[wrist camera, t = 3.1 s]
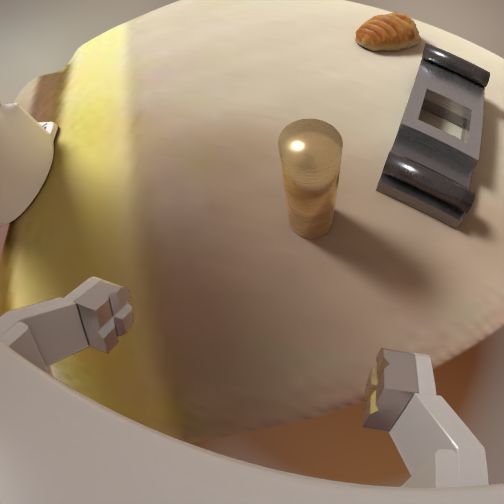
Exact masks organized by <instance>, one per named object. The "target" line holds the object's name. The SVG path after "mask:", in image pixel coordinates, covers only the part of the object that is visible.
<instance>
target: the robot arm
mask: <svg viewBox="0 0 504 504" xmlns="http://www.w3.org/2000/svg"><path fill="white" fill-rule="evenodd" d="M57 129H58V126H57V125H56V124H55V123H54V122H37V121H36V120H35V119H34V118H33V117H32V116H31V115H30V114H28V113H27V112H26V111H25V110H24V109H23V108H22V107H21V106H20V105H19V104H17V103H14V104H7V105H1V104H0V226H3V225H6V224H8V223H10V222H12V221H13V220H15V219H16V218H17V217H18V216H20V215H21V214H22V213H23V212H24V211H25V209H26V208H27V207H28V206H29V205H30V203H31V202H32V201H33V199H34V198H35V197H36V195H37V194H38V192H39V190H40V189H41V187H42V185H43V183H44V181H45V179H46V177H47V175H48V172H49V170H50V167H51V164H52V160H53V154H54V146H53V142H54V138H55V135H56V132H57ZM130 299H131V296H130V291H129V289H128V288H126V287H124V286H121V285H118V284H115V283H112V282H109V281H107V280H103V279H100V278H97V277H90V278H89V279H87V280H86V281H85V282H83V283H82V284H81V285H79V286H78V287H77V288H75V289H74V290H73V291H72V292H70V293H69V294H68V295H66V296H65V297H64V298H62V297H58V298H55V299H51V300H48V301H44V302H40V303H37V304H33V305H29V306H26V307H22V308H18V309H15V310H11V311H8V312H6V313H5V314H4V315H2V316H1V317H0V504H504V483H498V484H489V481H488V471H487V463H486V456H485V449H484V447H483V446H482V445H481V443H480V442H479V441H478V440H477V438H476V437H475V436H474V435H473V434H472V432H471V431H470V430H469V429H468V427H467V426H466V425H465V424H464V423H463V421H462V420H461V419H460V418H459V417H458V415H457V414H456V413H455V412H454V411H453V409H452V408H451V407H450V406H449V405H448V404H447V402H446V401H445V400H444V399H443V398H442V397H441V396H437V395H436V388H435V381H434V375H433V369H432V364H431V358H430V356H429V355H428V354H420V353H409V352H403V351H396V350H390V349H384V348H381V350H380V351H379V353H378V356H377V360H376V366H375V367H374V368H372V370H371V372H370V375H369V377H368V381H367V384H366V390H365V399H366V400H367V402H368V403H367V405H366V407H365V409H364V416H363V427H364V428H370V429H376V430H383V431H390V432H389V434H390V436H391V438H392V439H393V441H394V443H395V445H396V447H397V449H398V451H399V453H400V455H401V457H402V459H403V461H404V463H405V465H406V466H407V469H408V471H409V473H410V474H411V477H410V478H409V479H408V480H407V481H406V482H405V483H404V484H403V485H402V486H400V487H389V486H376V485H365V484H356V483H347V482H340V481H333V480H326V479H321V478H315V477H309V476H304V475H299V474H294V473H289V472H284V471H280V470H276V469H272V468H268V467H264V466H260V465H256V464H252V463H249V462H245V461H241V460H238V459H235V458H231V457H228V456H225V455H222V454H218V453H215V452H212V451H209V450H206V449H203V448H200V447H198V446H195V445H192V444H190V443H187V442H184V441H182V440H179V439H176V438H174V437H171V436H169V435H166V434H164V433H161V432H159V431H157V430H154V429H152V428H150V427H147V426H145V425H143V424H140V423H138V422H136V421H134V420H132V419H130V418H127V417H125V416H123V415H121V414H119V413H117V412H115V411H113V410H111V409H109V408H107V407H105V406H103V405H101V404H99V403H97V402H96V401H94V400H92V399H90V398H88V397H86V396H85V395H83V394H81V393H79V392H78V391H76V390H74V389H72V388H71V387H69V386H67V385H66V384H64V383H62V382H61V381H59V380H57V379H56V378H54V377H53V376H51V375H50V373H49V371H48V369H47V366H49V365H51V364H53V363H55V362H58V361H60V360H62V359H64V358H66V357H68V356H70V355H73V354H75V353H77V352H79V351H81V350H83V349H85V348H88V347H89V346H91V347H93V348H96V349H98V350H100V351H103V352H105V353H108V352H109V351H110V350H111V349H112V348H113V347H114V346H115V345H116V344H117V343H118V336H121V335H124V334H126V333H127V332H128V331H129V329H130V328H131V326H132V323H133V319H134V313H133V308H132V307H131V305H130V304H129V300H130Z"/></svg>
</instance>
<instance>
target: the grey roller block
mask: <svg viewBox="0 0 504 504" xmlns="http://www.w3.org/2000/svg"><path fill="white" fill-rule="evenodd" d="M489 77H490V72H488V71H486V70H484V69H482V68H480V67H478V66H476V65H474V64H472V63H470V62H468V61H466V60H464V59H462V58H460V57H458V56H455V55H453V54H451V53H449V52H446V51H444V50H442V49H439V48H437V47H434V46H432V45H429V44H427V43H426V44H425V48H424V52H423V56H422V60H421V64H420V67H419V70H418V73H417V76H416V79H415V83H414V86H413V89H412V92H411V95H410V98H409V101H408V104H407V106H406V109H405V112H404V115H403V118H402V121H401V124H400V127H399V130H398V133H397V136H396V139H395V142H394V144H393V147H392V150H390V152H389V155H388V157H387V160H386V163H385V166H384V169H383V173H382V175H381V178H380V180H379V183H378V186H377V189H376V190H377V191H379V192H381V193H384V194H386V195H388V196H390V197H392V198H394V199H397V200H399V201H401V202H403V203H405V204H407V205H409V206H411V207H413V208H416V209H418V210H420V211H422V212H424V213H426V214H428V215H430V216H432V217H434V218H436V219H438V220H440V221H441V222H443V223H445V224H447V225H449V226H451V227H453V228H455V229H456V228H457V227H458V226H459V224H460V223H461V222H462V220H463V215H464V212H465V213H467V212H468V211H469V209H470V208H471V206H472V203H473V200H474V197H475V192H474V191H473V190H471V189H469V187H470V182H471V176H472V170H473V168H474V167H475V165H476V164H477V162H478V161H479V154H480V146H481V136H482V126H483V112H484V91H485V87H486V86H487V84H488V81H489ZM421 108H422V109H424V110H427V111H429V112H431V113H433V114H435V115H438V116H440V117H442V118H444V119H446V120H448V121H450V122H452V123H454V124H456V125H458V126H460V127H462V128H463V130H462V136H461V140H460V139H458V138H456V137H454V136H452V135H450V134H448V133H446V132H444V131H442V130H440V129H438V128H436V127H434V126H432V125H429V124H427V123H425V122H423V121H421V120H418V117H419V114H420V111H421Z"/></svg>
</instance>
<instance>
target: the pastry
mask: <svg viewBox="0 0 504 504" xmlns="http://www.w3.org/2000/svg"><path fill="white" fill-rule="evenodd" d="M420 41H421V38H420V36H419V32H418V30H417V28H416V24H415V23H414V21H413V20H412V19H411V18H409V17H408V16H406V15H404V14H398V13H396V12H394V13H390V14H387V15H378V16H374V17H373V18H371V19H370V20H368V21H367V22H365V23H364V24H363V25H362V26H361V27H360V28H359V29H358V30H357V31H356V43H358V44H359V45H361V46H363V47H365V48H367V49H370V50H372V51H398V50H402V49H406V48H410V47H413V46H415V45H417V44H418V43H420Z"/></svg>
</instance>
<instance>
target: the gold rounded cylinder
mask: <svg viewBox="0 0 504 504" xmlns="http://www.w3.org/2000/svg"><path fill="white" fill-rule="evenodd" d="M278 146H279V152H280V159H281V165H282V172H283V179H284V185H285V192H286V199H287V207H288V214H289V221H290V225H291V227H292V229H293V230H294V231H295V232H296V233H297V234H298V235H300V236H302V237H304V238H318V237H321V236H323V235H324V234H326V233H327V232H328V231H329V229H330V228H331V225H332V222H333V215H334V208H335V201H336V194H337V187H338V180H339V172H340V164H341V156H342V147H343V142H342V138H341V136H340V134H339V132H338V131H337V130H336V129H335V128H334V127H333V126H332V125H330V124H328V123H327V122H324V121H321V120H317V119H302V120H298V121H295V122H293V123H291V124H289V125H288V126H287V127H286V128H285V129H284V130H283V131H282V132H281V134H280V136H279V140H278Z"/></svg>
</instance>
